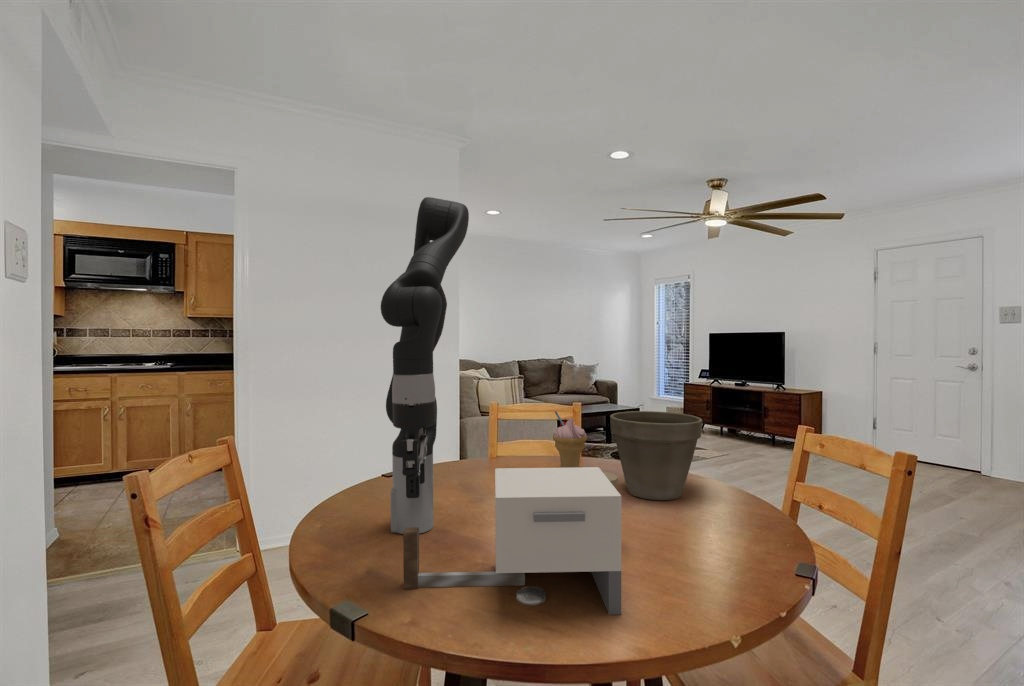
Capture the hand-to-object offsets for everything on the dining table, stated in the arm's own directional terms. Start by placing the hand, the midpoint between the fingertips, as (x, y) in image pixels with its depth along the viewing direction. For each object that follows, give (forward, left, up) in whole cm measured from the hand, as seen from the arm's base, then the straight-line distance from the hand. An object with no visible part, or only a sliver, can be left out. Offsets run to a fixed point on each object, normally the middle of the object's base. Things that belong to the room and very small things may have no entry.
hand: (416, 490), depth 93 cm
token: (+20, -5, -17) cm, 27 cm away
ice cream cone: (+38, +73, -17) cm, 84 cm away
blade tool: (+9, 0, -17) cm, 19 cm away
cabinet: (+24, -2, -17) cm, 30 cm away
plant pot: (+59, +52, -17) cm, 81 cm away
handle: (+37, +15, -17) cm, 44 cm away
